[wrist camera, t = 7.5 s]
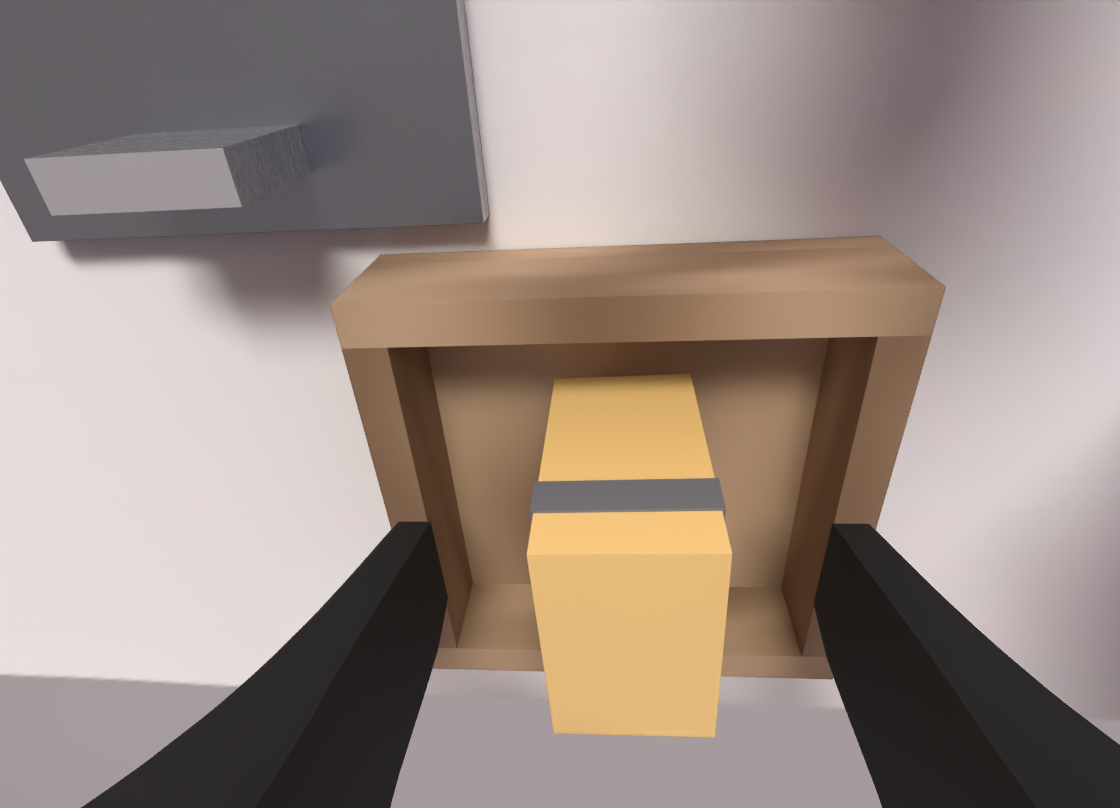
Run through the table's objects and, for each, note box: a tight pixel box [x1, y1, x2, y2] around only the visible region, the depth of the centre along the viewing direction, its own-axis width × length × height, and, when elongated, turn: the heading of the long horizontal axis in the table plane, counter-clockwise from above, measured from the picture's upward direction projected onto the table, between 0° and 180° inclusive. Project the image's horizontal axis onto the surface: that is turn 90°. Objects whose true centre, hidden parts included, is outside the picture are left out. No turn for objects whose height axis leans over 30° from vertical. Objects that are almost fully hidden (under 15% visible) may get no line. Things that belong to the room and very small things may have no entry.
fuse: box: [527, 374, 732, 737], centre depth 12 cm, size 3×4×5 cm, turn 5°
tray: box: [330, 236, 946, 679], centre depth 13 cm, size 10×10×3 cm
